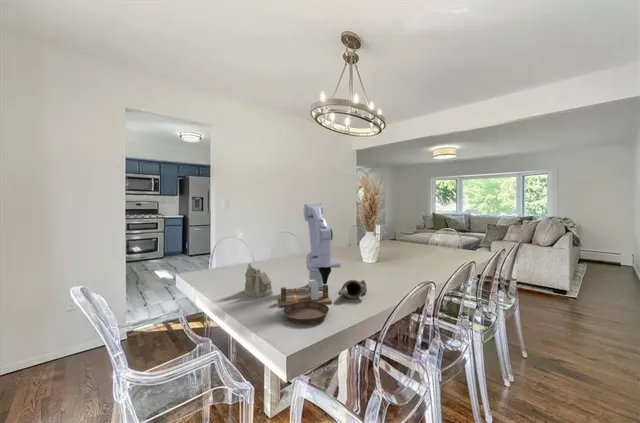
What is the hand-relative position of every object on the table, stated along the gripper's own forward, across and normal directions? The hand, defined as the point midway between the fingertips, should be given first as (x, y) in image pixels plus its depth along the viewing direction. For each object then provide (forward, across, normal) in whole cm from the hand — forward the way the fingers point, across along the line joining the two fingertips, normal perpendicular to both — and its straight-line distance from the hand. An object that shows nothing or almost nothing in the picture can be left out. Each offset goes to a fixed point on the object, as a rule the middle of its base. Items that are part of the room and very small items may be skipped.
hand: (324, 283), depth 132 cm
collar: (+5, -6, -3) cm, 8 cm away
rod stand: (+6, -10, -3) cm, 12 cm away
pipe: (+7, +14, -1) cm, 16 cm away
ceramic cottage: (+7, -29, +15) cm, 33 cm away
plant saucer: (+7, -12, -20) cm, 24 cm away
